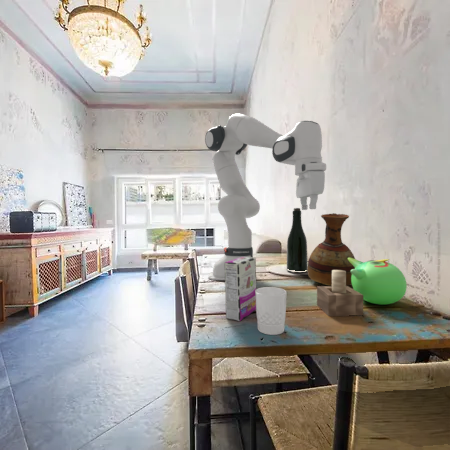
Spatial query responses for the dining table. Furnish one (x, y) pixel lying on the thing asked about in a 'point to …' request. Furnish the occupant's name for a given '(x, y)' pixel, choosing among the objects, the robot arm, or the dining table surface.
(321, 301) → the socket block
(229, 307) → the candy bar box
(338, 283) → the beech dowel
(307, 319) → the dining table surface
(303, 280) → the dining table surface
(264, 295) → the white cup
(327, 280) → the brown clay vase
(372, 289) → the green rounded body
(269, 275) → the dining table surface
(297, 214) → the dark wine bottle
